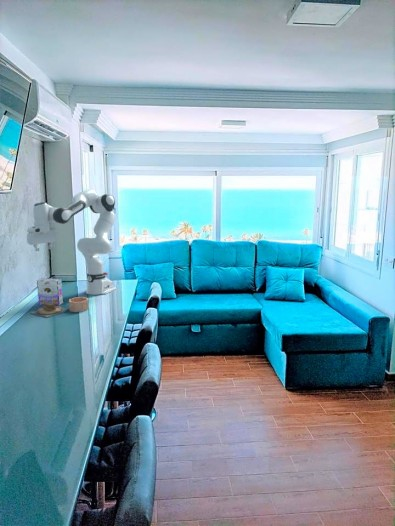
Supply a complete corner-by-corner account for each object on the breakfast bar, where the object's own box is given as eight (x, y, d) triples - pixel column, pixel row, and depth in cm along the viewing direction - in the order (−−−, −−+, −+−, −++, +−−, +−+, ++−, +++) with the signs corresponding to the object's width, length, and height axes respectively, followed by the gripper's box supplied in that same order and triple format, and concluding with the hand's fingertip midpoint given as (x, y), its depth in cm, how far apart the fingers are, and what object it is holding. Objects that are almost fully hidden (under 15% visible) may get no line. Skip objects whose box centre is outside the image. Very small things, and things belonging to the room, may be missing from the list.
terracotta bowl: (79, 305, 234) (79, 296, 233) (92, 308, 228) (91, 298, 227) (65, 310, 224) (65, 300, 223) (78, 313, 219) (78, 303, 218)
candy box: (63, 303, 238) (61, 278, 235) (59, 305, 232) (57, 280, 229) (43, 302, 239) (41, 277, 236) (38, 305, 234) (36, 280, 230)
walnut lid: (51, 306, 230) (50, 299, 229) (67, 309, 223) (66, 302, 222) (31, 312, 218) (31, 305, 217) (47, 316, 211) (47, 308, 210)
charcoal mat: (51, 306, 231) (51, 305, 230) (68, 310, 223) (68, 309, 223) (30, 313, 218) (30, 312, 218) (47, 317, 211) (47, 316, 210)
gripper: (52, 226, 243) (53, 247, 245) (24, 229, 225) (26, 251, 228) (58, 227, 240) (60, 248, 242) (31, 230, 222) (33, 252, 225)
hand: (43, 250), depth 235 cm, fingers open, 8 cm apart
